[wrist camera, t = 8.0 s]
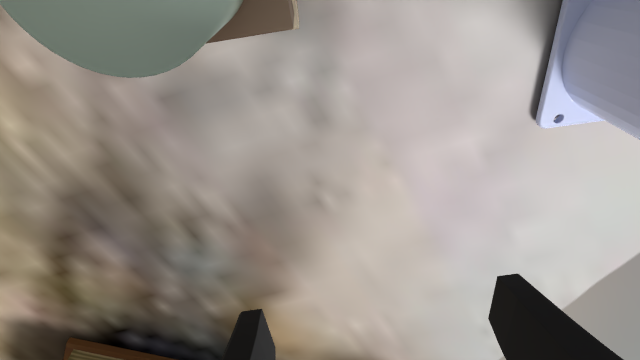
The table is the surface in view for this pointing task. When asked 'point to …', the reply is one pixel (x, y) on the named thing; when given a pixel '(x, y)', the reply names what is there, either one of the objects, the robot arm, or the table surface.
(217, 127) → the table surface
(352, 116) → the table surface
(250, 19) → the walnut top block
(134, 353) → the diary
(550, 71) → the robot arm
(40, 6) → the pale green short cylinder
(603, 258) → the table surface
